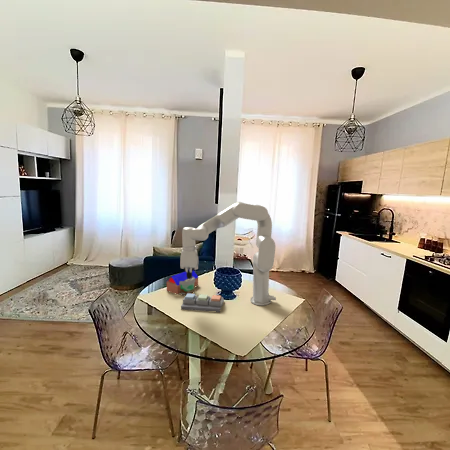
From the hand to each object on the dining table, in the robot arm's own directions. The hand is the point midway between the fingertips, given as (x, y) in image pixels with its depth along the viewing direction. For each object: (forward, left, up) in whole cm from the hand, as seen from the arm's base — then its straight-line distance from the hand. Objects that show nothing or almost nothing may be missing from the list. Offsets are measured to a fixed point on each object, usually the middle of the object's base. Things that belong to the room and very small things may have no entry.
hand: (189, 278), depth 152 cm
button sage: (-8, 0, -13) cm, 16 cm away
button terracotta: (-16, 0, -13) cm, 21 cm away
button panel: (-8, 0, -17) cm, 19 cm away
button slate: (0, 0, -13) cm, 13 cm away
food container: (+5, -15, -17) cm, 23 cm away
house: (+12, -24, -17) cm, 32 cm away
